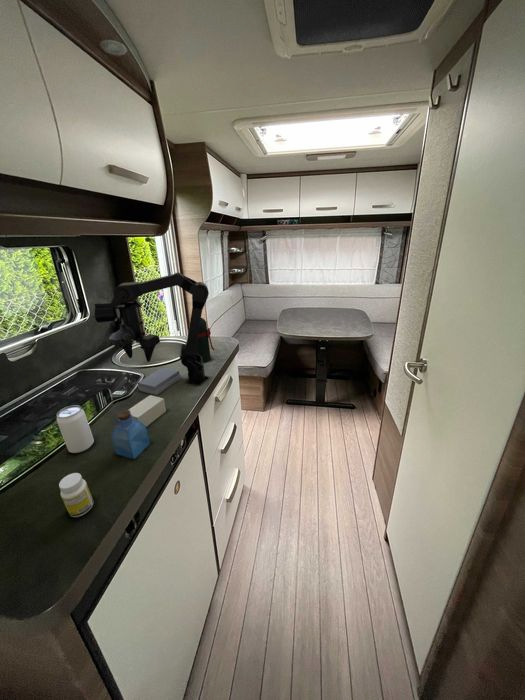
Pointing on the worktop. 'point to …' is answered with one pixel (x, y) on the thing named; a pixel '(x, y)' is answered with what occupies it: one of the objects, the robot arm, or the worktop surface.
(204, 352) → the wine bottle
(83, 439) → the can
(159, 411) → the white books
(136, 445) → the perfume bottle
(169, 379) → the grey books
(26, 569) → the worktop surface
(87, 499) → the supplement bottle
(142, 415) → the white book
